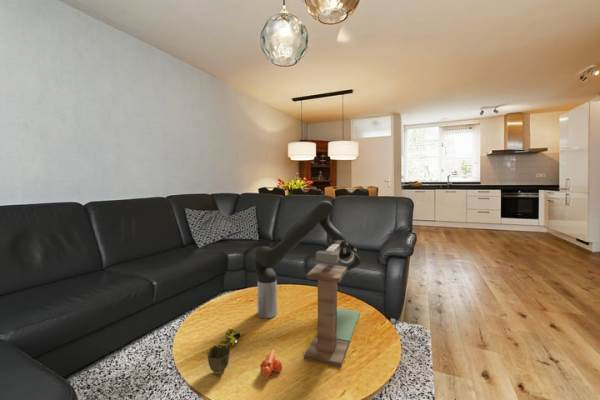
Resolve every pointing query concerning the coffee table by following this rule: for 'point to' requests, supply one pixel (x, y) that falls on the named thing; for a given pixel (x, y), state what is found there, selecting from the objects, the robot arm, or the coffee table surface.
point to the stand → (327, 317)
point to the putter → (330, 253)
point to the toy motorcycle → (231, 337)
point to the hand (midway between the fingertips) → (338, 242)
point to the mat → (346, 324)
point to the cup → (218, 359)
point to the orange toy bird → (270, 365)
